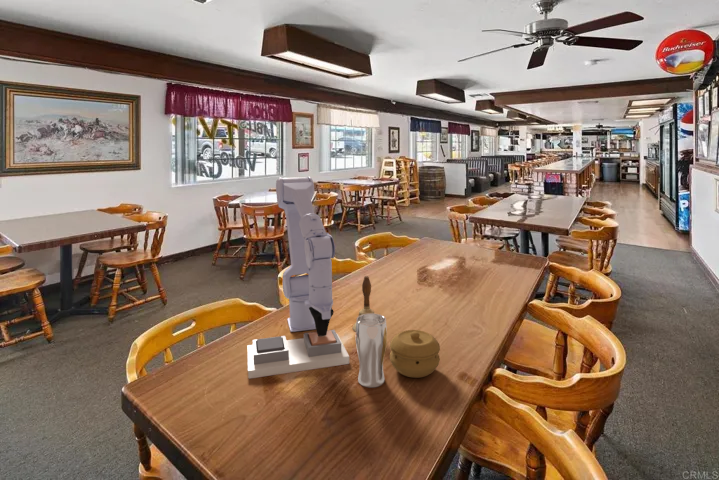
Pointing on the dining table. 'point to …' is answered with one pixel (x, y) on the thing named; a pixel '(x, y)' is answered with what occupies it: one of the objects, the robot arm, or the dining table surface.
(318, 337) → the terracotta key
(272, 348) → the charcoal key
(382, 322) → the beer glass
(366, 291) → the hand bell
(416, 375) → the pot
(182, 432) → the dining table surface
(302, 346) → the button panel
